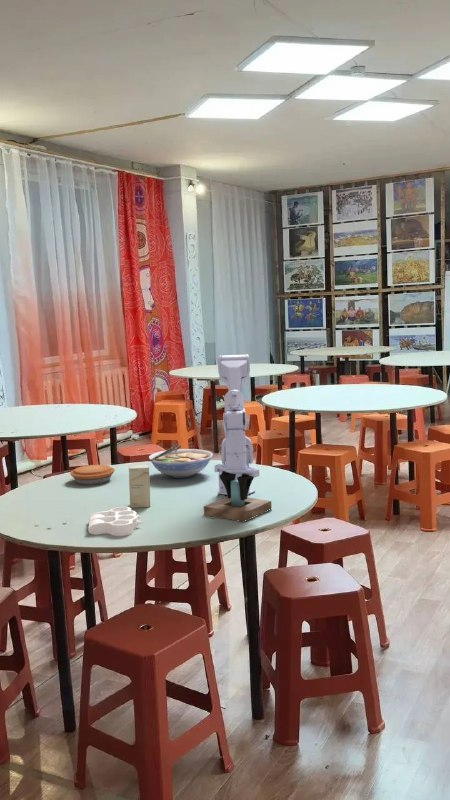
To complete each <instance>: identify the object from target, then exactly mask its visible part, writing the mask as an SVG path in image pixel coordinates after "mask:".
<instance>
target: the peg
mask: <svg viewBox="0 0 450 800" xmlns="http://www.w3.org/2000/svg"><path fill="white" fill-rule="evenodd" d="M231 506H234V507H242V506H245V500H241V497H240V486H239V482H238V480H232V481H231Z"/></svg>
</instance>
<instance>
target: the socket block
mask: <svg viewBox="0 0 450 800" xmlns="http://www.w3.org/2000/svg"><path fill="white" fill-rule="evenodd" d="M271 508H272V500H269V499H268V500H267V499H261V498H254V497H248V496H247V499H246V500H245V506H242V507H234V506H231V498H228V496H226V497H224V498H221V499H219V500H218V499H217V500H216V501H213V502H210V503H209V504H206V505H203V515H204V516H209V517H214V516H215V518H219V517H221V518H220V519H225V518H228V519H227V520H230V519H233V520H232V521H236V520H239V521H238V522H241V521H245V520H247V521H249V520H251V519H250V518H252V517H254V516H256V515H258V516H259V514H260V515H262V514H261V513H263V512H265V511H267V510H269V509H271ZM272 509H273V508H272ZM272 509H271V510H272ZM269 511H270V510H269ZM267 512H268V511H267ZM265 513H266V512H265ZM263 514H264V513H263ZM256 517H257V516H256ZM254 518H255V517H254ZM248 519H249V520H248ZM252 519H253V518H252ZM245 522H246V521H245Z"/></svg>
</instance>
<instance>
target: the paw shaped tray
mask: <svg viewBox="0 0 450 800" xmlns="http://www.w3.org/2000/svg"><path fill="white" fill-rule="evenodd" d="M140 518H142V516H141V515H139V514H138V512H136V511H135V510H132V508H131V507H130V506H117V507H113V508H111V509H109V510H105V511H98V512H94V513H92V514H90V515H89V518H88V520H89V521H88V533H89V534H91V535H93V536H94V535H101V534H110V535H111V536H113V537H114V536H116V537H124V536H125V537H126V536H129V535H132V534H134V533H135V531H134V530H136V529H137V528H138V527H139V525H141V524H143V522H142V521H141V520H139V519H140Z"/></svg>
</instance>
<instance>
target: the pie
mask: <svg viewBox="0 0 450 800" xmlns="http://www.w3.org/2000/svg"><path fill="white" fill-rule="evenodd" d="M115 471H116V470H115V468H114V467H111V466H110V465H106V464H88V465H81V466H78V467H76V468H74V469H73V470H72V471H70V473H69V474H70V476H71V477H72V478H73V479H74V481H75V482H76V483H77V484H78V485H82V486H83V485H84V486H92V485H100V484H105V483H108V482H109V481H110V480H111V477H112V476H113V474H114V473H115Z"/></svg>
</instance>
